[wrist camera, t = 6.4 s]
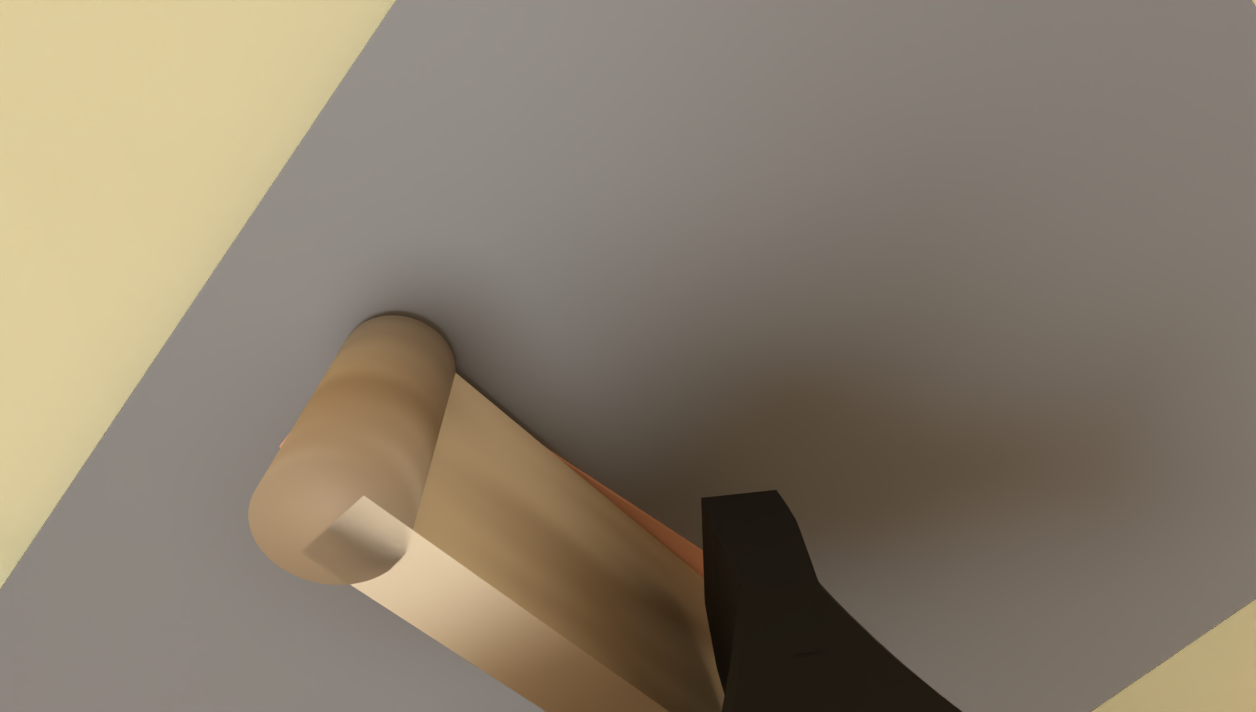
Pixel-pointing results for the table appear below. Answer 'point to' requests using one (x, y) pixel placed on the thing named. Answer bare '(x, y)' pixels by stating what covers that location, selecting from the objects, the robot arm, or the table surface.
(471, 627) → the bar
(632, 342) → the mat
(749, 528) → the robot arm
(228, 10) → the table surface
